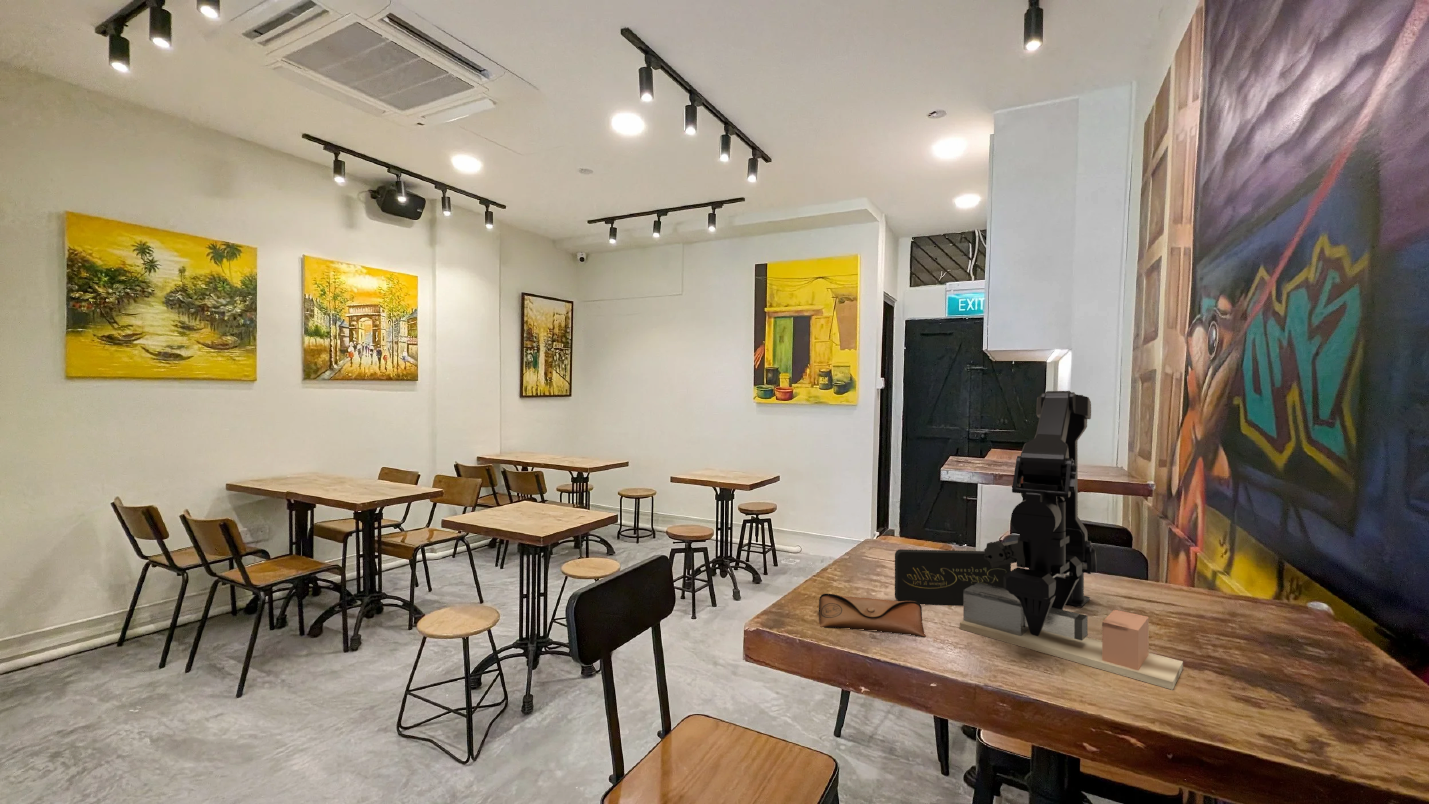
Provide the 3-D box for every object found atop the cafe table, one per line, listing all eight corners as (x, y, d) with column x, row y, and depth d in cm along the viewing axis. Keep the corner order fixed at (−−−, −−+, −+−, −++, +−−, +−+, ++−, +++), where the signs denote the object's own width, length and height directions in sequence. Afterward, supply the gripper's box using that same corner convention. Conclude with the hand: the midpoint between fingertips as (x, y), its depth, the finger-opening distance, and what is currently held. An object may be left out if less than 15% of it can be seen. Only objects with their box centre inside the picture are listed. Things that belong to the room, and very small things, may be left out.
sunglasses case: (816, 627, 95) (817, 586, 98) (817, 634, 100) (818, 596, 104) (930, 637, 91) (927, 595, 94) (924, 645, 97) (921, 604, 100)
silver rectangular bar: (974, 606, 99) (974, 589, 99) (1087, 635, 86) (1087, 615, 86) (967, 610, 97) (967, 593, 97) (1082, 640, 84) (1082, 620, 84)
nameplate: (1006, 604, 107) (1006, 551, 107) (1010, 607, 105) (1010, 554, 105) (894, 601, 108) (894, 549, 109) (897, 604, 107) (897, 551, 107)
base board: (981, 615, 101) (981, 609, 101) (1183, 668, 81) (1182, 661, 81) (959, 628, 95) (959, 622, 95) (1172, 689, 74) (1172, 682, 74)
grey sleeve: (977, 611, 100) (977, 582, 100) (1033, 626, 93) (1033, 594, 93) (963, 620, 96) (963, 589, 96) (1020, 636, 89) (1020, 603, 89)
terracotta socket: (1114, 645, 86) (1114, 609, 86) (1148, 654, 83) (1148, 617, 83) (1102, 660, 81) (1102, 621, 81) (1138, 670, 78) (1138, 630, 78)
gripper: (1011, 514, 102) (1011, 600, 102) (968, 529, 89) (968, 628, 89) (1082, 523, 94) (1082, 617, 94) (1047, 541, 81) (1047, 650, 81)
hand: (1044, 627), depth 89 cm, fingers open, 9 cm apart
